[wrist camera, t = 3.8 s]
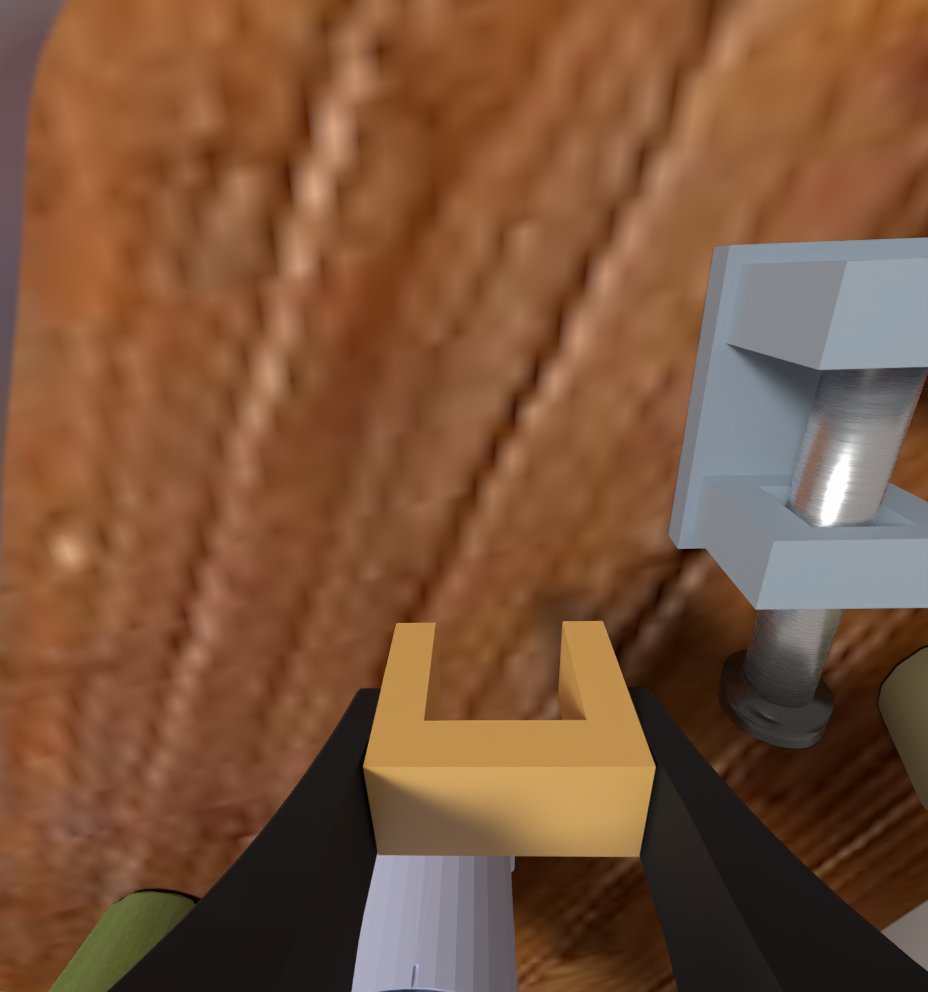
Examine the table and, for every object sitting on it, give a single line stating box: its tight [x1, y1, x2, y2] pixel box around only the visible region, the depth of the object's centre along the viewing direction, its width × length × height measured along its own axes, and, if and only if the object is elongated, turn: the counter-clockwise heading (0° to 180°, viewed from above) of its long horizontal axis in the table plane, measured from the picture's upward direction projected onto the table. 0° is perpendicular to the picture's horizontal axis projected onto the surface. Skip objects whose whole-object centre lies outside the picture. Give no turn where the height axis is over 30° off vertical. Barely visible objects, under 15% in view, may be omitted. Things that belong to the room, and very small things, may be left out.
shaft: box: [717, 367, 928, 748], centre depth 15 cm, size 12×3×3 cm, turn 2°
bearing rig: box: [668, 238, 928, 610], centre depth 14 cm, size 10×6×6 cm, turn 2°
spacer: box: [363, 621, 656, 857], centre depth 11 cm, size 3×5×4 cm, turn 92°
